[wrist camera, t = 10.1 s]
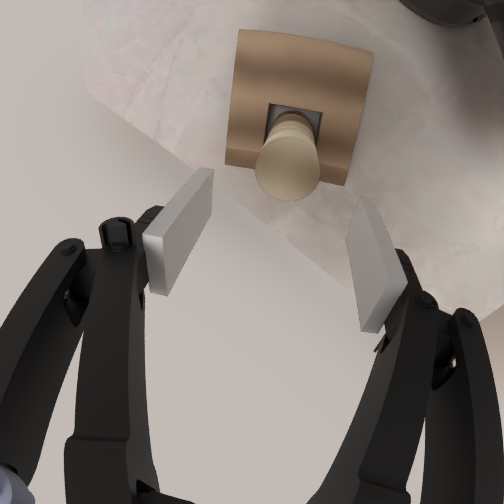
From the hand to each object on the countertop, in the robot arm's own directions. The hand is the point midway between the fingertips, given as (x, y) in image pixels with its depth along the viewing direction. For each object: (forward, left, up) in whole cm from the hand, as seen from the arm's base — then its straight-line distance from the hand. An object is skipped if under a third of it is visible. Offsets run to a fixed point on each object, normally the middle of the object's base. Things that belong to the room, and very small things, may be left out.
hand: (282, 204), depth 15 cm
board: (-3, 0, -21) cm, 21 cm away
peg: (0, 0, -21) cm, 21 cm away
